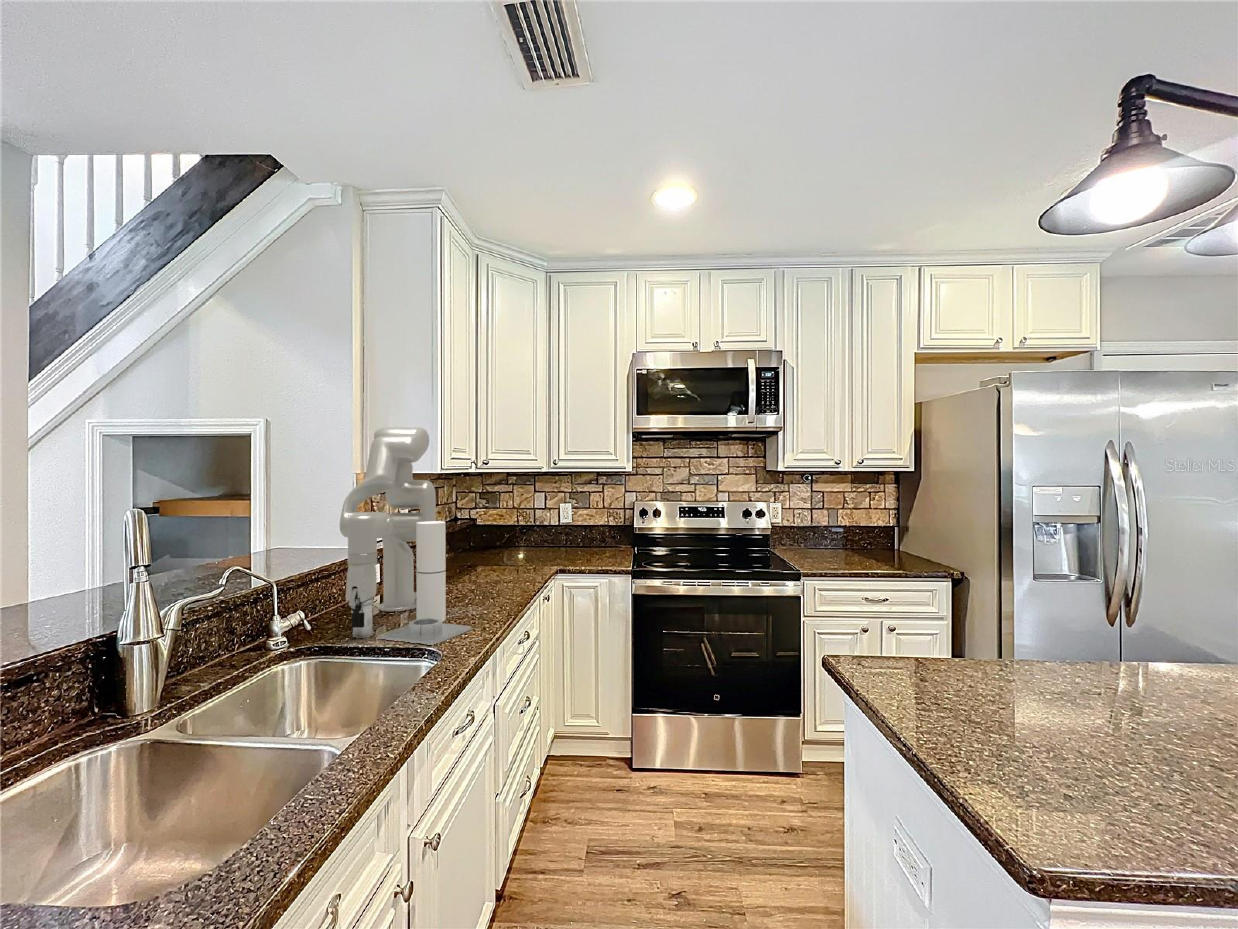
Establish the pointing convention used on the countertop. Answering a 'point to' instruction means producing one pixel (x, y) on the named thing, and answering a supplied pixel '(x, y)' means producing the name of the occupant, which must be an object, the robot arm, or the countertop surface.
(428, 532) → the container
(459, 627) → the flange
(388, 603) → the robot arm
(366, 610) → the grey cylinder
